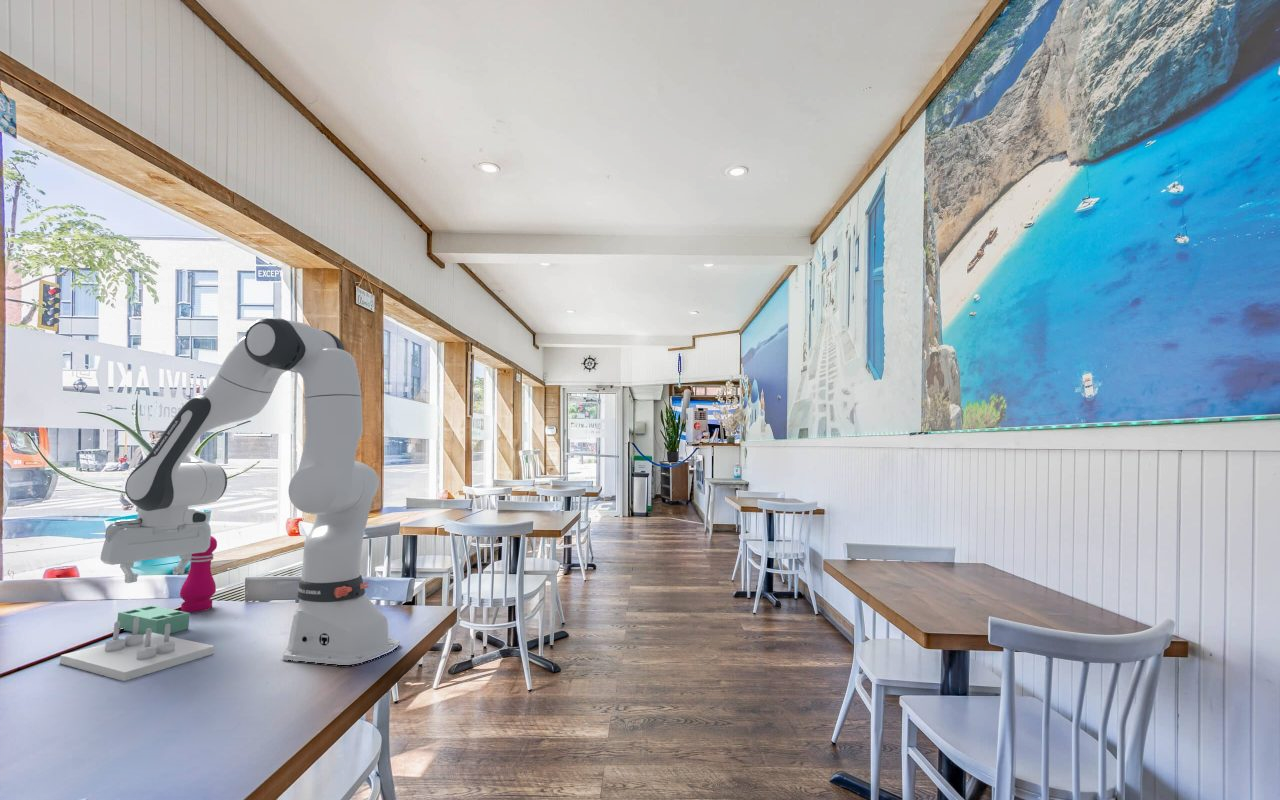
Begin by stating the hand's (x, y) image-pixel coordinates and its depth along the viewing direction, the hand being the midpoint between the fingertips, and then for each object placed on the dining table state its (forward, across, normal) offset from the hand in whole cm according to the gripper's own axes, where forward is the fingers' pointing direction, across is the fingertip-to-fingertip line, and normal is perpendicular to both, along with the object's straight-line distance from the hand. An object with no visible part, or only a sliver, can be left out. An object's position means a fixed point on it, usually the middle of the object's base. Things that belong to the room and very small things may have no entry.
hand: (155, 578), depth 129 cm
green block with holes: (+11, 0, -1) cm, 11 cm away
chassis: (+11, -12, -19) cm, 25 cm away
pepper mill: (+11, +14, +7) cm, 20 cm away
